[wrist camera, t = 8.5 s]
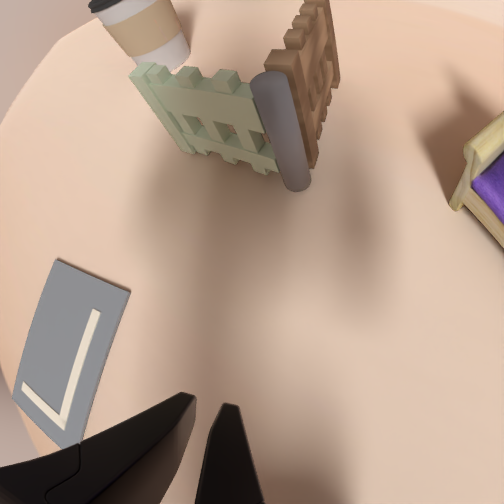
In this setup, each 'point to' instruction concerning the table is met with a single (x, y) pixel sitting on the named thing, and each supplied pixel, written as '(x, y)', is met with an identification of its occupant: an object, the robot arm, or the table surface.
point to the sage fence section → (229, 117)
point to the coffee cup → (144, 30)
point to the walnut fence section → (309, 69)
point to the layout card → (67, 351)
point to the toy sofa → (484, 178)
